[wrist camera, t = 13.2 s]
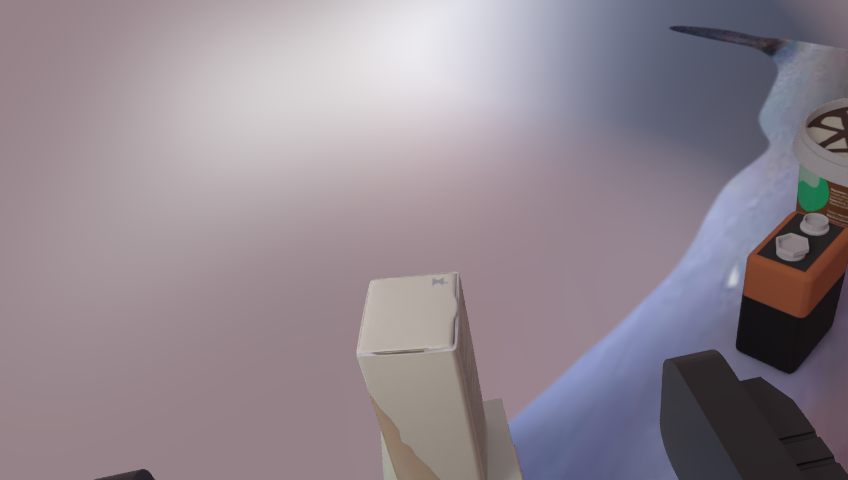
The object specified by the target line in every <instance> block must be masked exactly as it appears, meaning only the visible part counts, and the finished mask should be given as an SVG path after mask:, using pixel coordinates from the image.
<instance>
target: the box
mask: <svg viewBox="0 0 848 480" xmlns="http://www.w3.org/2000/svg"><path fill="white" fill-rule="evenodd" d="M356 354H357V358H358V360H359V363H360V367H361V370H362V372H363V376H364V379H365V382H366V385H367V388H368V391H369V394H370V398H371V401H372V404H373V407H374V410H375V413H376V416H377V419H378V422H379V425H380V429H381V432H382V435H383V438H384V441H385V444H386V448H387V451H388V454H389V457H390V460H391V463H392V466H393V469H394V472H395V475H396V478H397V480H488V454H487V423H486V418H485V413H484V407H483V401H482V395H481V390H480V385H479V379H478V373H477V367H476V361H475V356H474V350H473V344H472V339H471V334H470V328H469V322H468V317H467V312H466V306H465V301H464V296H463V290H462V286H461V280H460V276H459V273H458V272H447V273H436V274H424V275H412V276H402V277H394V278H383V279H374V280H371V282H370V285H369V289H368V294H367V298H366V303H365V308H364V312H363V318H362V323H361V329H360V335H359V340H358V348H357V353H356Z"/></svg>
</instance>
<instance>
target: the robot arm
mask: <svg viewBox="0 0 848 480" xmlns="http://www.w3.org/2000/svg"><path fill="white" fill-rule="evenodd" d="M660 428H661V435H662V439H663V443H664V446H665V450H666V453H667V455H668V458H669V460H670V462H671V465H672V467H673V469H674V471H675V473H676V475H677V477H678V479H679V480H848V474H847V473H846V472H845V470H844V469H843V468H842V466H841V465H840V463H836V461H835V459H834V455H833V454H832V453H831V451H830V450H829V448H828V447H827V446H826V444H825V443H824V442H823V440H822V439H821V438H820V437H817V435H816V432H815V429H814V428H813V427H812V425H811V424H810V423H809V421H808V420H807V418H806V417H805V416H804V414H803V413H802V412H801V410H800V409H799V408H798V406H797V405H796V403H795V402H794V401H793V400H792V399H791V398H789V397H788V396H787V395H785V394H784V393H782V392H781V391H779V390H778V389H777V388H775V387H774V386H772V385H771V384H770V383H768V382H767V381H765V380H764V379H763V378H761V377H757V378H752V379H748V380H743V381H739V379H738V378H737V376H736V375H735V373H734V372H733V370H732V369H731V367H730V366H729V364H728V363H727V361H726V360H725V359H724V357H723V356H722V355H721V354H720V353H719V352H718V351H716V350H708V351H703V352H699V353H694V354H689V355H685V356H680V357H675V358H671V359H666V360H665V361H664V364H663V374H662V393H661V413H660ZM95 480H155V479H154V478H153V477H152V475H151V474H150V472H148V471H147V470H145V469H141V470H136V471H131V472H127V473H122V474H117V475H113V476H108V477H103V478H99V479H95Z"/></svg>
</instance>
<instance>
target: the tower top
mask: <svg viewBox="0 0 848 480" xmlns="http://www.w3.org/2000/svg"><path fill="white" fill-rule="evenodd" d="M483 407H484V413H485V418H486V423H487V454H488V480H522V478H521V475H520V471H519V467H518V463H517V459H516V455H515V451H514V447H513V443H512V439H511V435H510V431H509V427H508V424H507V420H506V416H505V412H504V408H503V404H502V400H501V399H495V400H490V401H485V402H483ZM380 431H381V429H380ZM381 445H382V460H383V474H384V480H397V478H396V475H395V472H394V469H393V466H392V463H391V460H390V457H389V454H388V451H387V448H386V444H385V441H384V438H383V435H382V432H381Z"/></svg>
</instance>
